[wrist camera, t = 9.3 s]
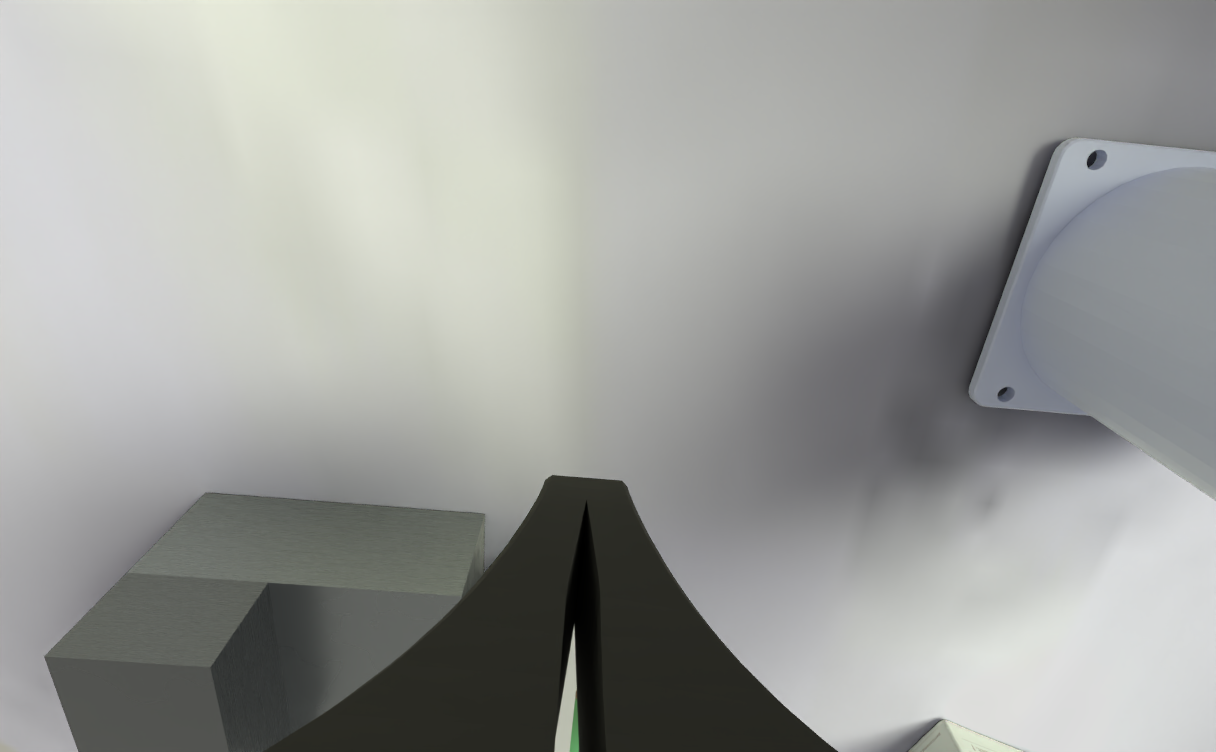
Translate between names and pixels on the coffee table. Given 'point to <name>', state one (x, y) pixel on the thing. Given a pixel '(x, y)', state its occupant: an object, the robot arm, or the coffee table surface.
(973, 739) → the supplement box
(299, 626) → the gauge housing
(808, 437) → the coffee table surface
